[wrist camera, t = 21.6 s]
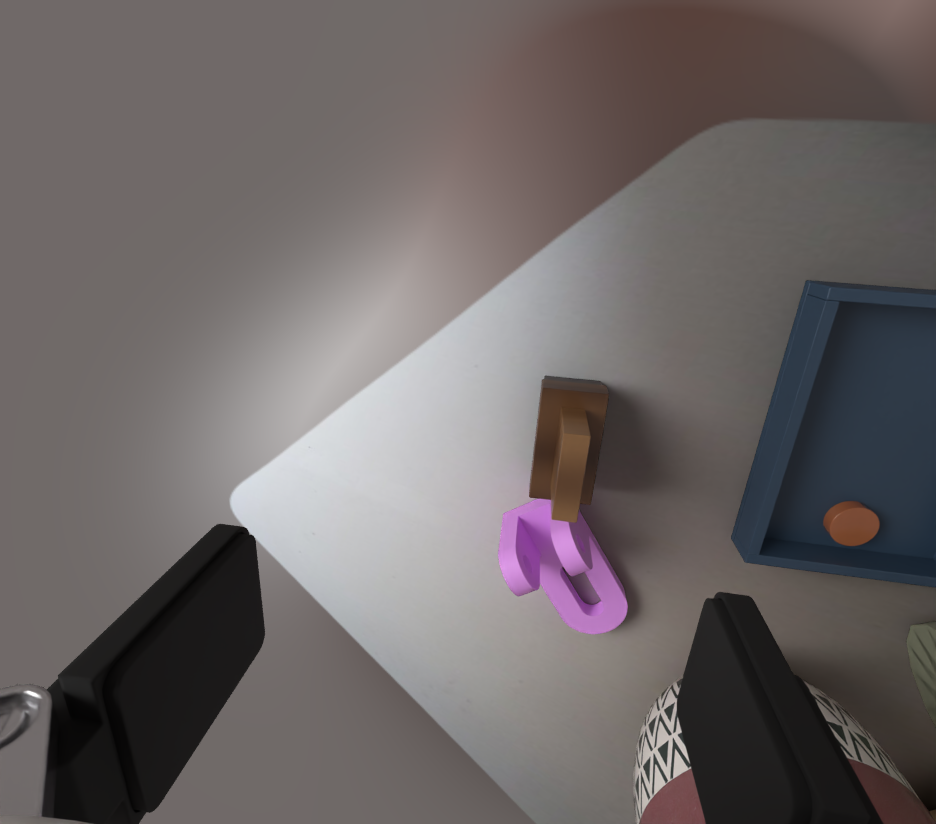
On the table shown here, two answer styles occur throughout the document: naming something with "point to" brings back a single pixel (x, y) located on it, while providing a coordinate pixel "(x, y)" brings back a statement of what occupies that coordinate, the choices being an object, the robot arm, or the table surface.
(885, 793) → the planter
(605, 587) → the bracket
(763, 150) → the table surface
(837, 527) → the orange disc
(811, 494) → the tray
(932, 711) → the spool
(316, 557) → the table surface
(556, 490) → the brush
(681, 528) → the table surface
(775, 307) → the table surface
